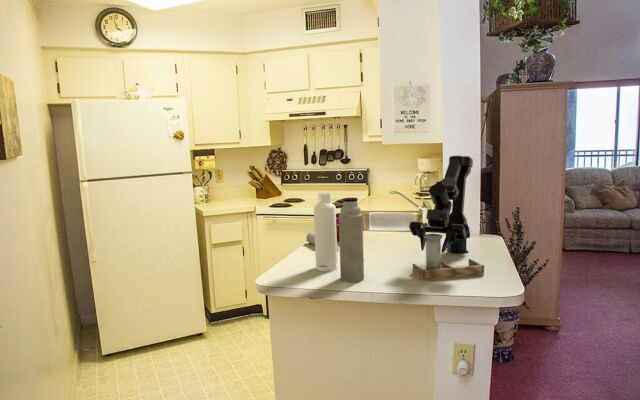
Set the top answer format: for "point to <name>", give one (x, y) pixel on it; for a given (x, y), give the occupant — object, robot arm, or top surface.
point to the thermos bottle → (351, 241)
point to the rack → (449, 271)
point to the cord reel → (433, 251)
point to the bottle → (325, 233)
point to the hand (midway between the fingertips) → (432, 251)
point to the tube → (312, 238)
